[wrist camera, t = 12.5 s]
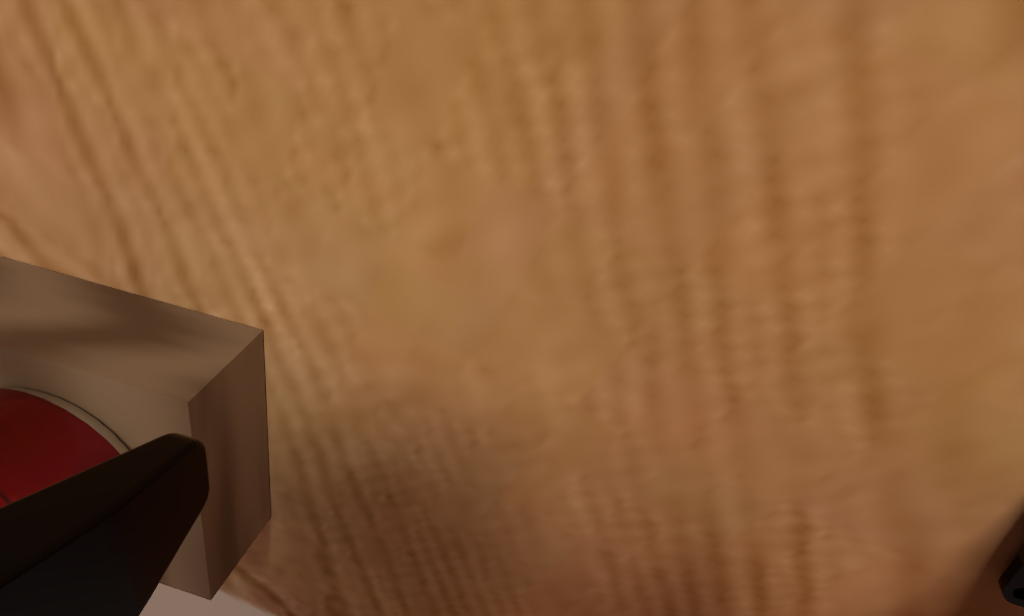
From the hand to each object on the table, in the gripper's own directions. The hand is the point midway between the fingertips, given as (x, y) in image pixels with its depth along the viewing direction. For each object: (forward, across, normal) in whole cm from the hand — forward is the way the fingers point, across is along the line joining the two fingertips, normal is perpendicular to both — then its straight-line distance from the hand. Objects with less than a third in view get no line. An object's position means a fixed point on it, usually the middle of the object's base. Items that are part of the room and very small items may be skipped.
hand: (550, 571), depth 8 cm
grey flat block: (+12, +16, +12) cm, 23 cm away
